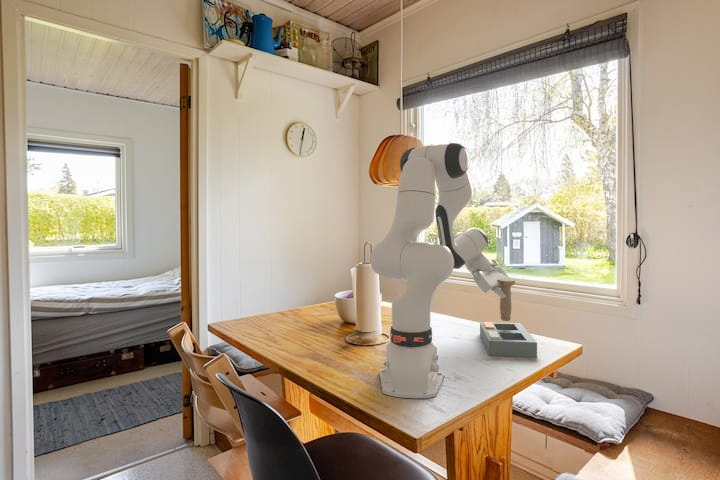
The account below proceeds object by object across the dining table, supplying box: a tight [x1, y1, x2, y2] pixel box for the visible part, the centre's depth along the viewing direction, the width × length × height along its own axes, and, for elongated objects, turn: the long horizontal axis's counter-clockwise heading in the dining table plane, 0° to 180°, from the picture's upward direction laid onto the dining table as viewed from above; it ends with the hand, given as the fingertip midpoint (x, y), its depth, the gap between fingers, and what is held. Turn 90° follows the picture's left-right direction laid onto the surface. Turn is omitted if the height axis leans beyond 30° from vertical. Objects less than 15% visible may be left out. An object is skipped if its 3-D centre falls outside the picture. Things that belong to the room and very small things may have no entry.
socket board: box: [479, 321, 538, 359], centre depth 143 cm, size 24×15×6 cm, turn 170°
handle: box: [498, 278, 516, 322], centre depth 148 cm, size 5×6×15 cm
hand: (507, 296), depth 148 cm, fingers closed on handle, 3 cm apart
